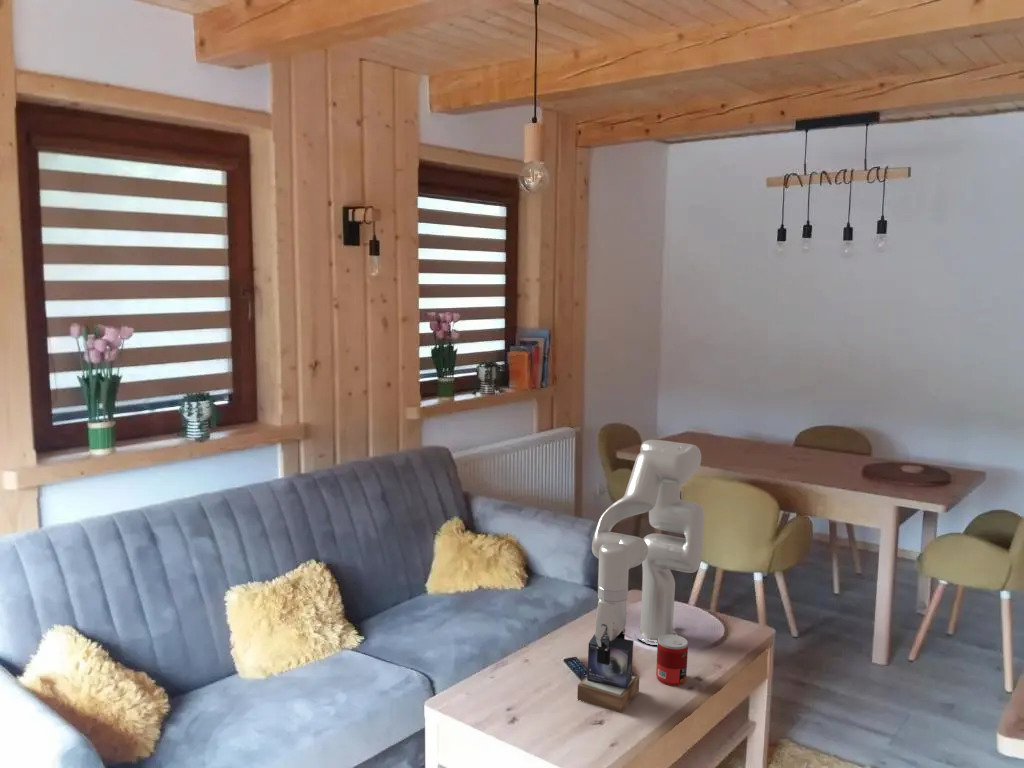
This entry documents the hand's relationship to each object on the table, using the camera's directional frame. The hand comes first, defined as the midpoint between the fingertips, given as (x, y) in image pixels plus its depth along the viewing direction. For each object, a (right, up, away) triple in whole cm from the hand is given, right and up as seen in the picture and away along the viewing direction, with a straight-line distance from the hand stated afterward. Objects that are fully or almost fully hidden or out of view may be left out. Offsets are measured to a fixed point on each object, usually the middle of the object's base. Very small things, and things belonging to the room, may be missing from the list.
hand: (610, 655), depth 216 cm
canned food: (+17, -10, +11) cm, 23 cm away
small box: (0, -7, +1) cm, 7 cm away
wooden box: (-1, -11, +1) cm, 11 cm away
